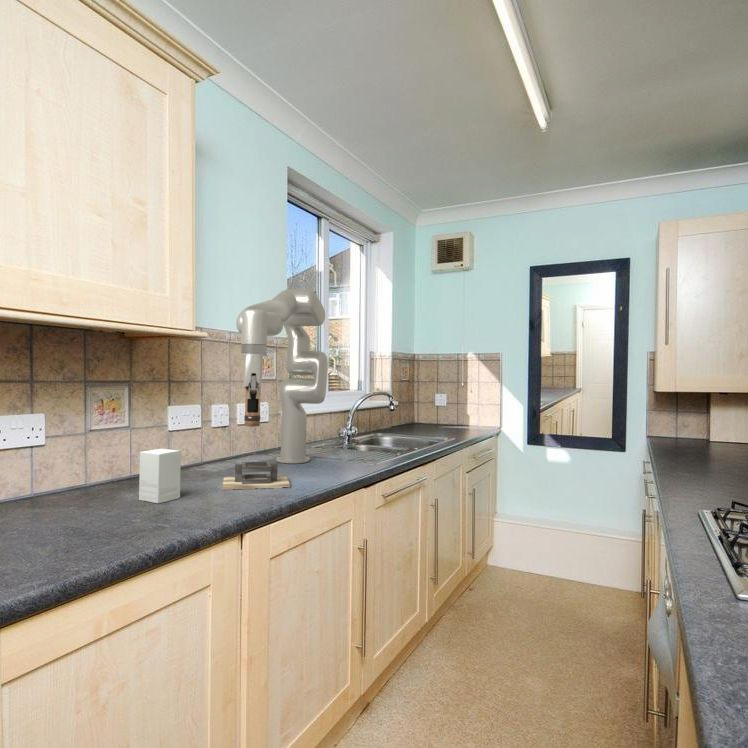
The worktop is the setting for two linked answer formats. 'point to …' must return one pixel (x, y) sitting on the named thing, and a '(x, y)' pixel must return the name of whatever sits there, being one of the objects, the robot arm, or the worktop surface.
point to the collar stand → (255, 477)
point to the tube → (252, 418)
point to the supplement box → (159, 475)
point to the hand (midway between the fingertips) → (252, 411)
